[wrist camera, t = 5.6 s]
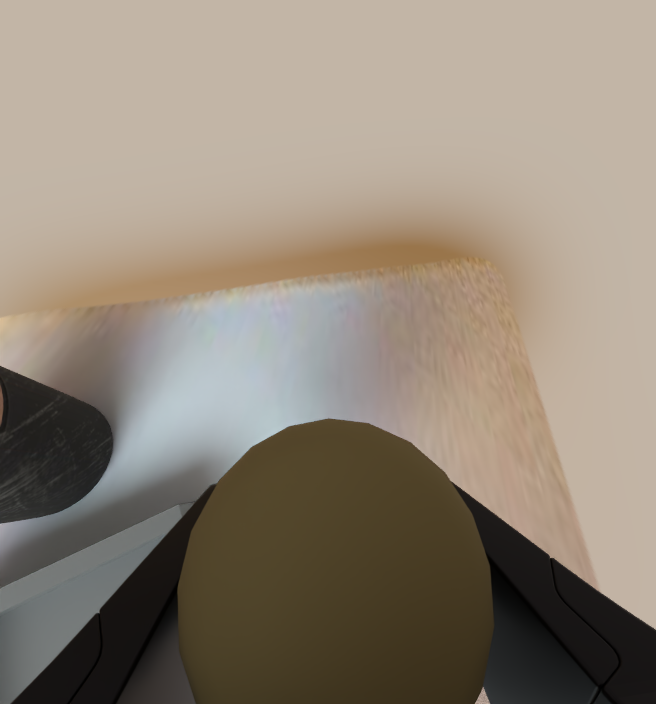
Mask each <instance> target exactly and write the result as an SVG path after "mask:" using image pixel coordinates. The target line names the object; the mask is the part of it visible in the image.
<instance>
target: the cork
mask: <svg viewBox="0 0 656 704" xmlns="http://www.w3.org/2000/svg"><path fill="white" fill-rule="evenodd" d="M177 591H178V629H179V653H180V656H181V659H182V662H183V665H184V669H185V672H186V675H187V678H188V681H189V684H190V687H191V690H192V694H193V697H194V700H195V703H196V704H475V702H476V700H477V699H478V697H479V695H480V693H481V690H482V688H483V683H484V678H485V672H486V667H487V662H488V657H489V651H490V646H491V641H492V636H493V630H494V613H493V600H492V587H491V573H490V565H489V562H488V559H487V556H486V553H485V550H484V547H483V544H482V541H481V538H480V535H479V532H478V529H477V526H476V523H475V521H474V518H473V515H472V513H471V511H470V510H469V508H468V507H467V505H466V504H465V502H464V501H463V499H462V498H461V496H460V495H459V493H458V492H457V490H456V489H455V487H454V486H453V484H452V483H451V481H450V480H449V478H448V476H447V475H446V473H445V472H444V471H443V470H441V469H440V468H439V467H438V466H437V465H436V464H435V463H433V462H432V461H431V460H430V459H429V458H428V457H427V456H425V455H424V454H423V453H422V452H421V451H420V450H419V449H417V448H416V447H415V446H414V445H413V444H412V443H411V442H408V441H406V440H404V439H402V438H400V437H398V436H395V435H393V434H391V433H389V432H387V431H384V430H382V429H380V428H378V427H376V426H373V425H371V424H369V423H362V422H353V421H345V420H336V419H324V420H319V421H314V422H309V423H304V424H299V425H294V426H289V427H287V428H285V429H284V430H282V431H280V432H278V433H276V434H275V435H273V436H271V437H269V438H267V439H265V440H264V441H262V442H260V443H258V444H256V445H255V446H253V447H251V448H250V449H249V450H248V451H247V452H246V453H245V454H244V455H243V457H242V458H241V459H240V460H239V461H238V462H237V463H236V464H235V465H234V466H233V467H232V468H231V469H230V470H229V471H228V472H227V473H226V474H225V475H224V476H223V477H222V478H221V479H220V480H219V482H218V483H217V485H216V487H215V489H214V490H213V492H212V494H211V496H210V498H209V500H208V501H207V503H206V505H205V507H204V509H203V511H202V512H201V514H200V516H199V518H198V520H197V521H196V523H195V525H194V527H193V529H192V531H191V534H190V538H189V543H188V547H187V551H186V555H185V559H184V563H183V567H182V571H181V576H180V580H179V584H178V588H177Z"/></svg>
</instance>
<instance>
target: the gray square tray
mask: <svg viewBox="0 0 656 704" xmlns="http://www.w3.org/2000/svg"><path fill="white" fill-rule="evenodd" d="M194 503H195V502H192V503H184V504H178V505H176V506H174V507H172V508H170V509H168V510H165V511H163V512H161V513H159V514H157V515H155V516H153V517H150V518H148V519H146V520H144V521H142V522H140V523H138V524H136V525H133V526H131V527H129V528H127V529H125V530H123V531H121V532H119V533H116V534H114V535H112V536H110V537H108V538H106V539H104V540H102V541H99V542H97V543H95V544H93V545H91V546H89V547H87V548H85V549H82V550H80V551H78V552H76V553H74V554H72V555H70V556H68V557H65V558H63V559H61V560H59V561H57V562H55V563H53V564H51V565H48V566H46V567H44V568H42V569H40V570H38V571H36V572H34V573H31V574H29V575H27V576H25V577H23V578H21V579H19V580H16V581H14V582H12V583H10V584H8V585H6V586H4V587H2V588H0V704H10V703H11V702H12V701H13V700H14V699H15V698H16V697H17V696H18V695H19V694H20V693H21V692H22V691H23V690H24V689H25V688H26V687H27V686H28V685H29V684H30V683H31V682H32V681H33V680H34V679H35V678H36V677H37V676H38V675H39V674H40V673H41V672H42V671H43V670H44V669H45V668H46V667H47V666H48V665H49V664H50V663H51V662H52V661H53V659H54V658H55V657H56V656H57V655H58V654H59V653H60V652H61V651H62V650H63V649H64V648H65V646H66V645H67V644H68V643H69V642H70V641H71V640H72V639H73V638H74V637H75V636H76V635H77V634H78V632H79V631H80V630H81V629H82V628H83V627H84V626H85V625H86V624H87V622H88V621H89V620H90V619H91V618H92V617H93V616H94V615H95V614H96V613H99V610H100V608H101V607H102V606H103V605H104V604H105V602H106V601H107V600H108V599H109V598H110V597H111V596H112V595H113V594H114V592H115V591H116V590H117V589H118V588H119V587H120V586H121V585H122V583H123V582H124V581H125V580H126V579H127V578H128V577H129V576H130V575H131V573H132V572H133V571H134V570H135V569H136V568H137V567H138V566H139V564H140V563H141V562H142V561H143V560H144V559H145V558H146V557H147V556H148V554H149V553H150V552H151V551H152V550H153V549H154V548H155V547H156V545H157V544H158V543H159V542H160V541H161V540H162V539H163V538H164V537H165V535H166V534H167V533H168V532H169V531H170V530H171V529H172V528H173V526H174V525H175V524H176V523H177V522H178V521H179V520H180V519H181V518H182V516H183V515H184V514H185V513H186V512H187V511H188V510H189V509H190V507H191V506H192V505H193V504H194Z"/></svg>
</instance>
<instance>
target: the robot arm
mask: <svg viewBox="0 0 656 704" xmlns="http://www.w3.org/2000/svg"><path fill="white" fill-rule="evenodd" d="M451 483H452V484H453V486H454V487H455V489H456V490H457V492H458V493H459V495H460V496H461V498H462V499H463V501H464V502H465V504H466V505H467V507H468V508H469V510H470V511H471V513H472V515H473V518H474V521H475V523H476V526H477V529H478V532H479V535H480V538H481V541H482V544H483V547H484V550H485V553H486V556H487V559H488V562H489V565H490V573H491V587H492V600H493V613H494V630H493V636H492V641H491V646H490V651H489V657H488V662H487V667H486V672H485V678H484V683H483V687H484V690H485V692H486V694H487V697H488V699H489V702H490V704H656V630H655V629H654V628H652V627H651V626H649V625H648V624H646V623H645V622H643V621H642V620H640V619H639V618H637V617H635V616H634V615H633V614H631V613H630V612H628V611H627V610H625V609H624V608H622V607H621V606H619V605H617V604H616V603H615V602H613V601H612V600H611V599H609V598H608V597H606V596H605V595H603V594H602V593H600V592H599V591H597V590H596V589H595V588H593V587H592V586H590V585H589V584H588V583H586V582H585V581H584V580H582V579H581V578H579V577H578V576H577V575H575V574H574V573H573V572H571V571H570V570H568V569H567V568H566V567H564V566H563V565H562V564H560V563H559V562H558V561H557V560H555V559H554V558H550V556H549V555H548V554H547V553H546V552H544V551H543V550H542V549H540V548H539V547H538V546H536V545H535V544H534V543H532V542H531V541H530V540H528V539H527V538H526V537H524V536H523V535H522V534H520V533H519V532H518V531H516V530H515V529H514V528H512V527H511V526H510V525H509V524H507V523H506V522H505V521H503V520H502V519H501V518H499V517H498V516H497V515H495V514H494V513H493V512H491V511H490V510H489V509H487V508H486V507H485V506H483V505H482V504H481V503H479V502H478V501H477V500H475V499H474V498H473V497H471V496H470V495H469V494H467V493H466V492H465V491H463V490H462V489H461V488H459V487H458V486H457V485H455V484H454V483H453V482H451ZM216 485H217V484H212V485H210V486H209V487H208V489H207V490H206V491H205V492H204V493H203V494H202V495H201V496H200V497H199V499H198V500H197V501H196V502H195V503H194V504H193V505H192V506H191V507H190V509H189V510H188V511H187V512H186V513H185V514H184V515H183V516H182V518H181V519H180V520H179V521H178V522H177V523H176V524H175V525H174V526H173V528H172V529H171V530H170V531H169V532H168V533H167V534H166V535H165V537H164V538H163V539H162V540H161V541H160V542H159V543H158V544H157V545H156V547H155V548H154V549H153V550H152V551H151V552H150V553H149V554H148V556H147V557H146V558H145V559H144V560H143V561H142V562H141V563H140V564H139V566H138V567H137V568H136V569H135V570H134V571H133V572H132V573H131V575H130V576H129V577H128V578H127V579H126V580H125V581H124V582H123V583H122V585H121V586H120V587H119V588H118V589H117V590H116V591H115V592H114V594H113V595H112V596H111V597H110V598H109V599H108V600H107V601H106V602H105V604H104V605H103V606H102V607H101V608H100V610H99V613H96V614H95V615H94V616H93V617H92V618H91V619H90V620H89V621H88V622H87V624H86V625H85V626H84V627H83V628H82V629H81V630H80V631H79V632H78V634H77V635H76V636H75V637H74V638H73V639H72V640H71V641H70V642H69V643H68V644H67V645H66V646H65V648H64V649H63V650H62V651H61V652H60V653H59V654H58V655H57V656H56V657H55V658H54V659H53V661H52V662H51V663H50V664H49V665H48V666H47V667H46V668H45V669H44V670H43V671H42V672H41V673H40V674H39V675H38V676H37V677H36V678H35V679H34V680H33V681H32V682H31V683H30V684H29V685H28V686H27V687H26V688H25V689H24V690H23V691H22V692H21V693H20V694H19V695H18V696H17V697H16V698H15V699H14V700H13V701H12V702H11V703H10V704H196V703H195V700H194V697H193V694H192V690H191V687H190V684H189V681H188V678H187V675H186V672H185V669H184V665H183V662H182V659H181V656H180V653H179V629H178V591H177V588H178V584H179V580H180V576H181V571H182V567H183V563H184V559H185V555H186V551H187V547H188V543H189V538H190V534H191V531H192V529H193V527H194V525H195V523H196V521H197V520H198V518H199V516H200V514H201V512H202V511H203V509H204V507H205V505H206V503H207V501H208V500H209V498H210V496H211V494H212V492H213V490H214V489H215V487H216Z"/></svg>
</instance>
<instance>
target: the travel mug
mask: <svg viewBox="0 0 656 704" xmlns="http://www.w3.org/2000/svg"><path fill="white" fill-rule="evenodd" d="M111 452H112V432H111V429H110V426H109V424H108V422H107V420H106V419H105V417H104V416H103V415H102V414H101V413H100V412H99V411H98V410H97V409H96V408H94V407H92V406H91V405H89V404H87V403H85V402H83V401H80V400H78V399H76V398H74V397H71V396H69V395H67V394H64V393H62V392H60V391H57V390H55V389H53V388H50V387H48V386H46V385H43V384H41V383H39V382H36V381H34V380H32V379H29V378H27V377H25V376H22V375H20V374H18V373H15V372H13V371H11V370H8V369H6V368H4V367H1V366H0V524H1V523H7V522H13V521H20V520H26V519H31V518H37V517H42V516H46V515H50V514H54V513H57V512H59V511H62V510H64V509H66V508H68V507H70V506H72V505H73V504H75V503H76V502H78V501H79V500H81V499H82V498H83V497H84V496H86V495H87V494H88V493H89V492H90V491H91V490H92V489H93V487H94V486H95V485H96V484H97V483H98V481H99V480H100V478H101V477H102V475H103V473H104V472H105V470H106V468H107V465H108V463H109V460H110V457H111Z"/></svg>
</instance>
